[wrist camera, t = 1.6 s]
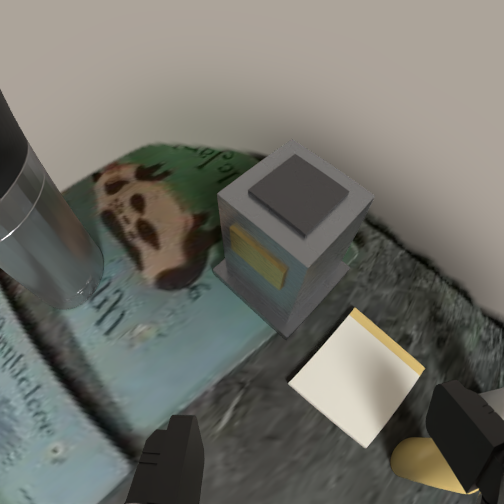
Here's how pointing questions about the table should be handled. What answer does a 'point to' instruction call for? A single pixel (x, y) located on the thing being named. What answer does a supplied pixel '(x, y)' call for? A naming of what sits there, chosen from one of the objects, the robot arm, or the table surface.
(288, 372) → the table surface
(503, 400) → the cylinder
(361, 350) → the pad
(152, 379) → the table surface
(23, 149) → the robot arm
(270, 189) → the unit
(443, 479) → the cylinder
